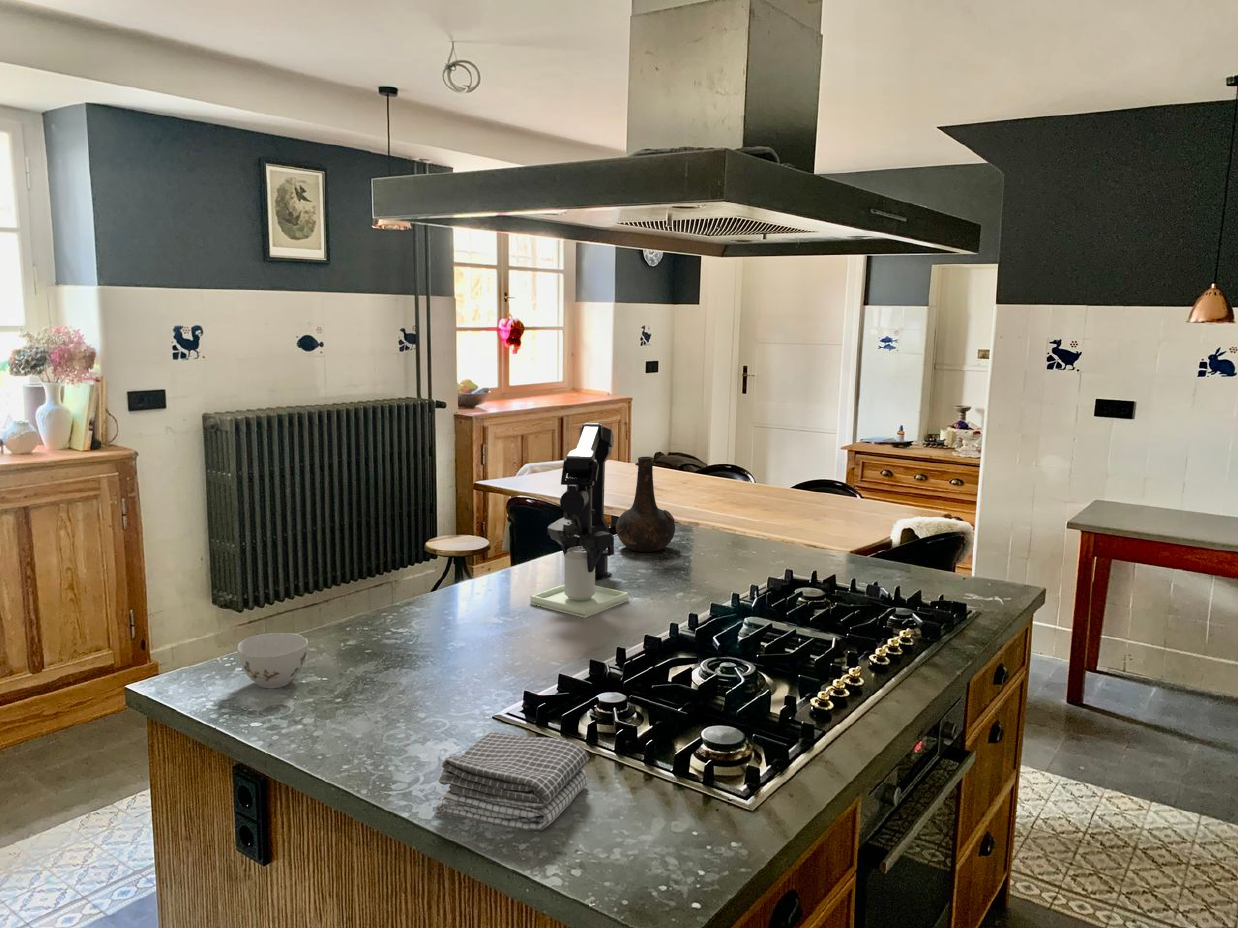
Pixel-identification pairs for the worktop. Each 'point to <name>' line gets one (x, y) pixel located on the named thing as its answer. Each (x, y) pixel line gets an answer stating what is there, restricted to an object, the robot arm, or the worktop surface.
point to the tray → (579, 601)
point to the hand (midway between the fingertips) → (579, 568)
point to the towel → (513, 780)
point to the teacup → (273, 658)
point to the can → (578, 575)
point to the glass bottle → (645, 515)
